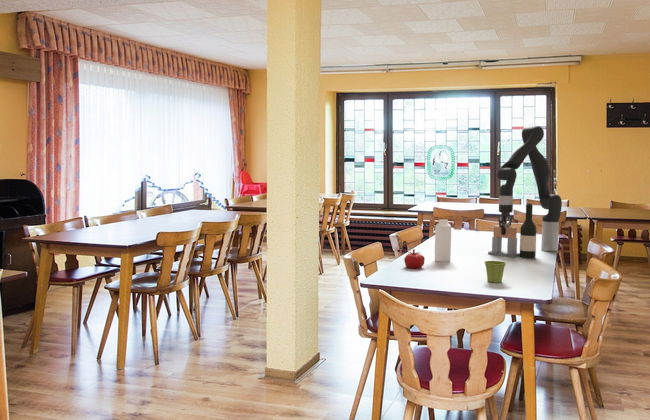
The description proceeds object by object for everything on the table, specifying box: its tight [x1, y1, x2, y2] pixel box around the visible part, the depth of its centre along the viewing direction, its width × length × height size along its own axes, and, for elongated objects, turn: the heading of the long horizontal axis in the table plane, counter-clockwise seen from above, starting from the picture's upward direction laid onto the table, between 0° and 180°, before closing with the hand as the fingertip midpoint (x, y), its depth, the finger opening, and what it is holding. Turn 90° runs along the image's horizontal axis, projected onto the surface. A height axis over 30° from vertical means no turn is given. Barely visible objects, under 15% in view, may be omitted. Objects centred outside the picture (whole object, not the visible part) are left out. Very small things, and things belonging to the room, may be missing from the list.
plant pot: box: [484, 260, 507, 284], centre depth 282 cm, size 9×9×9 cm
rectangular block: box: [492, 225, 518, 239], centre depth 354 cm, size 4×12×6 cm, turn 51°
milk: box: [434, 218, 452, 263], centre depth 334 cm, size 6×6×22 cm
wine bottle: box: [519, 202, 537, 260], centre depth 346 cm, size 8×8×30 cm
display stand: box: [487, 236, 520, 258], centre depth 355 cm, size 7×16×10 cm, turn 51°
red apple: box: [403, 248, 425, 269], centre depth 314 cm, size 10×10×9 cm
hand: (504, 234), depth 354 cm, fingers open, 4 cm apart
